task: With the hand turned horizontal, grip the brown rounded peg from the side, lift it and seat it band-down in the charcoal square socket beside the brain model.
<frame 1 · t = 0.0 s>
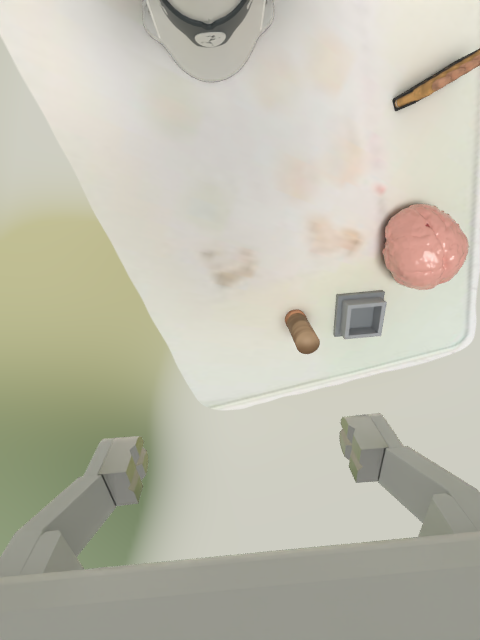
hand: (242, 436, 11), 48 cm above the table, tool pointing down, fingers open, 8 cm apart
brown rounded peg: (295, 318, 63), on the table
brain: (406, 242, 57), on the table
socket block: (357, 313, 63), on the table
ammunition clip: (424, 87, 46), on the table
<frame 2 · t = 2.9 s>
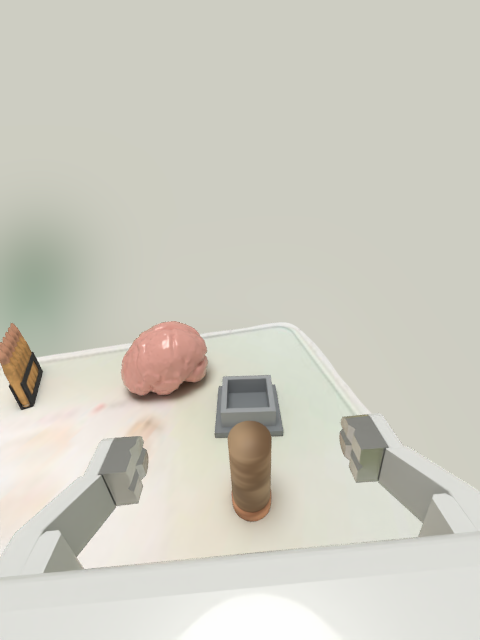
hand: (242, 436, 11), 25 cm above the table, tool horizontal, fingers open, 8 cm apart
brown rounded peg: (251, 500, 34), on the table
brain: (169, 380, 54), on the table
socket block: (247, 410, 46), on the table
ammunition clip: (33, 389, 53), on the table
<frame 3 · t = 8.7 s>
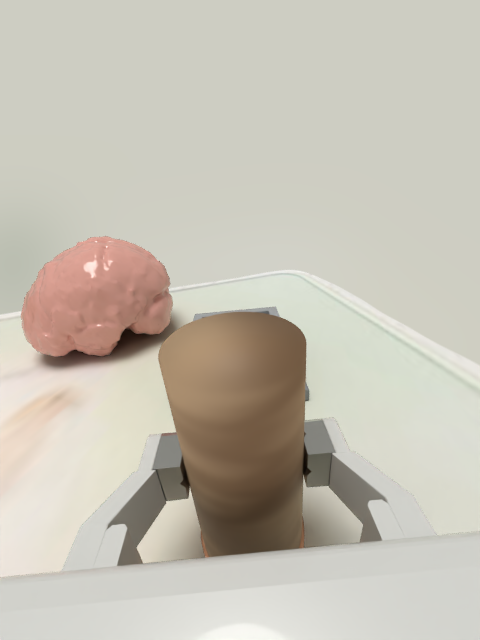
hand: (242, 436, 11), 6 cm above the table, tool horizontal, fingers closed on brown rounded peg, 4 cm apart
brown rounded peg: (253, 541, 13), on the table, touching gripper
brain: (113, 338, 34), on the table
socket block: (240, 367, 26), on the table
when the fingers open (8 cm above the table, at t = 14.0 s): brown rounded peg drops 1 cm, resting on socket block.
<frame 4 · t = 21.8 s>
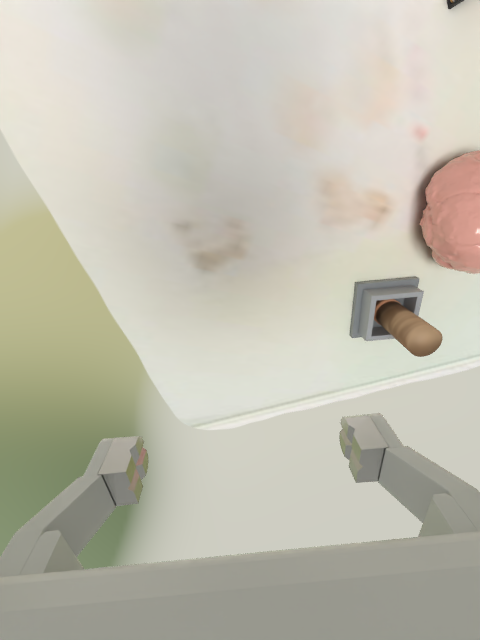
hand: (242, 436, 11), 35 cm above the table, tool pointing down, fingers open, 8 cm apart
brown rounded peg: (384, 309, 48), point 1 cm above the table, touching socket block
brain: (450, 210, 42), on the table
socket block: (381, 307, 48), on the table
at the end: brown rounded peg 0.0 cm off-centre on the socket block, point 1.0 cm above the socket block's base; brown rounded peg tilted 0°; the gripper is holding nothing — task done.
